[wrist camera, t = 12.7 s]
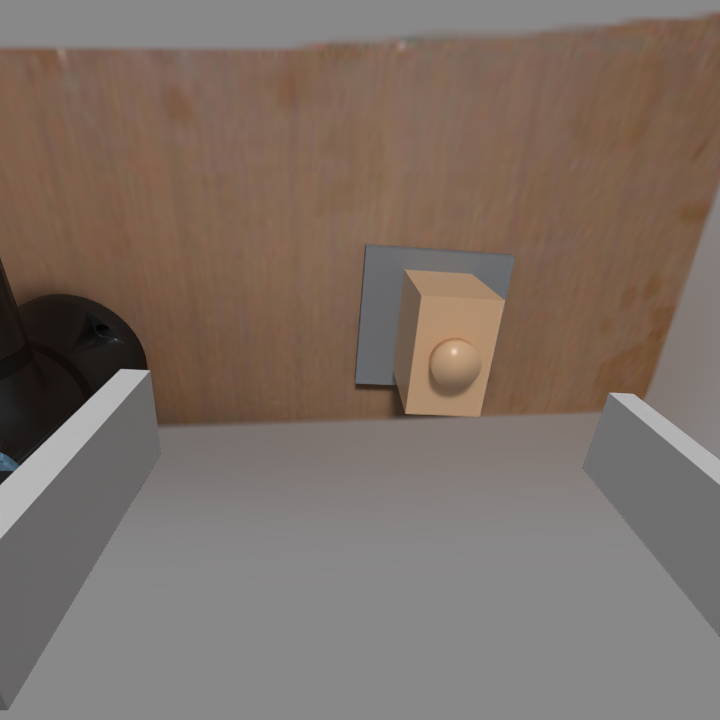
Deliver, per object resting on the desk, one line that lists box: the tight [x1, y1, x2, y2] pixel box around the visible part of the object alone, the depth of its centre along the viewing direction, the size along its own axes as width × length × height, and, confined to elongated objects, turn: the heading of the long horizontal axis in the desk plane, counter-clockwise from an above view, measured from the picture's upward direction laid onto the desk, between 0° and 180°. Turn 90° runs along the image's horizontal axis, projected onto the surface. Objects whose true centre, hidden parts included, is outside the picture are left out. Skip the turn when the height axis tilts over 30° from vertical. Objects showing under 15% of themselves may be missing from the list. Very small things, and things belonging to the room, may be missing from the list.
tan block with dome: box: [393, 270, 505, 417], centre depth 44 cm, size 12×7×12 cm, turn 176°
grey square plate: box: [355, 244, 515, 387], centre depth 46 cm, size 16×16×10 cm
